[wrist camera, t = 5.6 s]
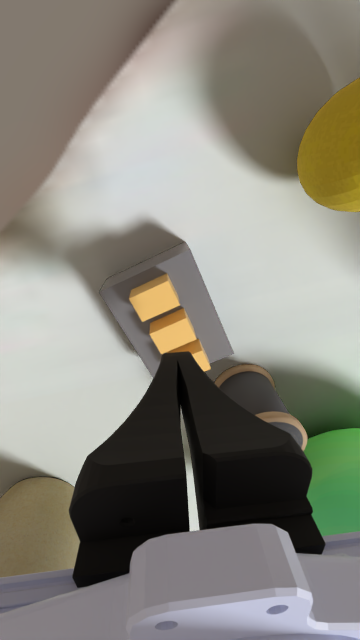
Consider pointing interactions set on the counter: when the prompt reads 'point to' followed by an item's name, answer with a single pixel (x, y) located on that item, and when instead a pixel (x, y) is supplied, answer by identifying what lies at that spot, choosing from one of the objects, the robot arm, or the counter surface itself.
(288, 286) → the counter surface
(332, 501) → the green toy teapot
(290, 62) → the counter surface
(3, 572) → the plant pot
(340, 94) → the lemon
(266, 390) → the cord spool
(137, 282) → the breaker strip
